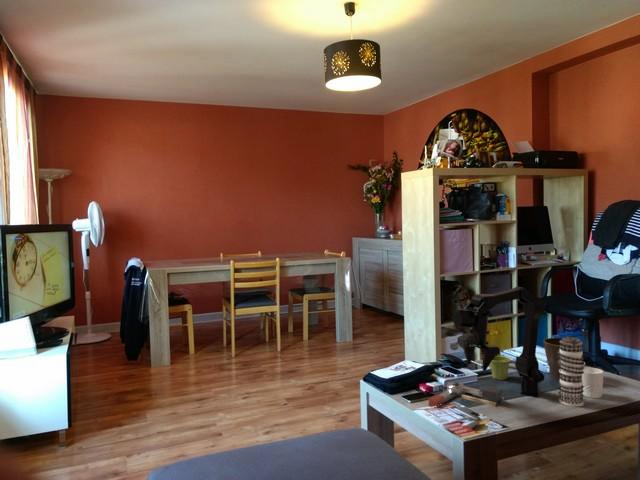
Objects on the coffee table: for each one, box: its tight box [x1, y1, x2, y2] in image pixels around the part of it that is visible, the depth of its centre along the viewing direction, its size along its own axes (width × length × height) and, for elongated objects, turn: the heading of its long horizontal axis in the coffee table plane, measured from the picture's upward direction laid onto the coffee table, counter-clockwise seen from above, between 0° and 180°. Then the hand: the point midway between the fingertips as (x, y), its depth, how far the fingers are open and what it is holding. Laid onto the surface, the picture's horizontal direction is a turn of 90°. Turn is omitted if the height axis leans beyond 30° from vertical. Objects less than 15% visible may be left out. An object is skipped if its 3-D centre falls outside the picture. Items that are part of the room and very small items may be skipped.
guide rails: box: [460, 392, 505, 407], centre depth 200 cm, size 14×8×1 cm, turn 47°
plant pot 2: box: [543, 337, 564, 380], centre depth 222 cm, size 15×15×16 cm
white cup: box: [582, 367, 604, 399], centre depth 201 cm, size 8×8×10 cm
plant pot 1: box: [489, 355, 512, 381], centre depth 224 cm, size 9×9×9 cm
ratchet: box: [428, 381, 482, 407], centre depth 200 cm, size 14×22×4 cm, turn 137°
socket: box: [481, 386, 503, 407], centre depth 197 cm, size 6×5×5 cm
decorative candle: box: [558, 336, 585, 408], centre depth 193 cm, size 9×9×25 cm
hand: (476, 367), depth 195 cm, fingers open, 9 cm apart
